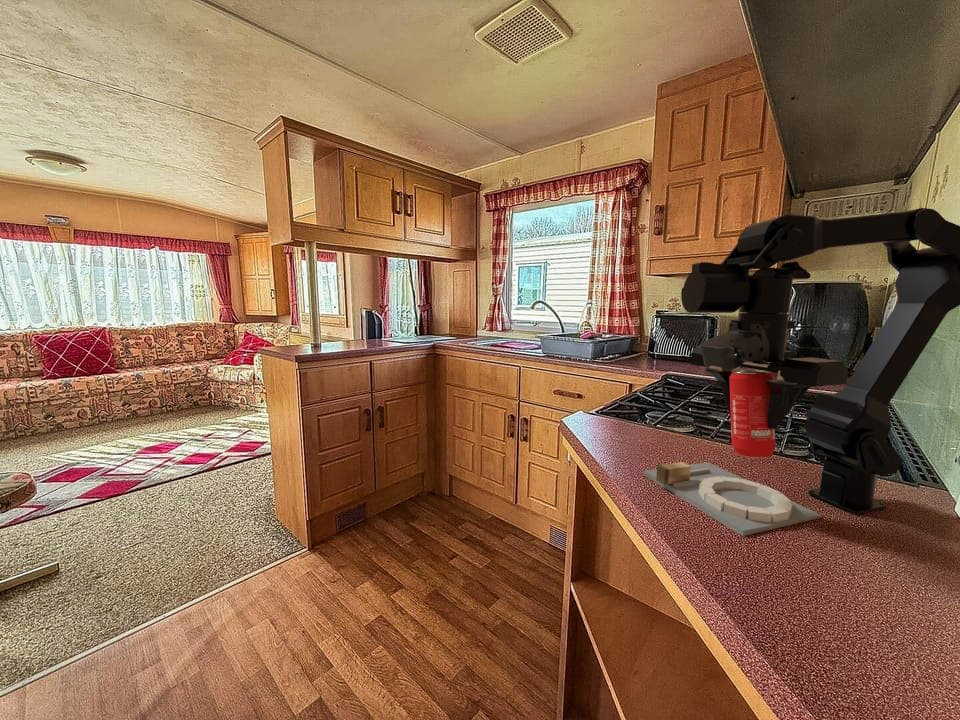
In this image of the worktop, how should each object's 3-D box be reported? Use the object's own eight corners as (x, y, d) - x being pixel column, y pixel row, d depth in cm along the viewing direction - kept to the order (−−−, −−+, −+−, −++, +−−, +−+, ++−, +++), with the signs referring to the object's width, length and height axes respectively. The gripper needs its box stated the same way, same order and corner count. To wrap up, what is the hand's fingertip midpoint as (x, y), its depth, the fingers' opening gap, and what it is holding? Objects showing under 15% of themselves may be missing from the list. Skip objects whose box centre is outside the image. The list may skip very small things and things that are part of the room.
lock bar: (681, 476, 66) (682, 462, 66) (689, 480, 64) (690, 466, 64) (656, 479, 65) (657, 465, 64) (664, 484, 63) (665, 469, 62)
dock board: (707, 466, 73) (708, 455, 72) (820, 520, 55) (822, 507, 54) (643, 475, 69) (644, 464, 69) (742, 536, 51) (744, 522, 50)
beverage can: (733, 457, 56) (730, 373, 55) (730, 447, 60) (727, 370, 60) (779, 460, 53) (776, 372, 53) (772, 450, 58) (769, 369, 57)
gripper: (665, 312, 61) (659, 409, 63) (788, 315, 43) (773, 451, 45) (722, 311, 64) (714, 404, 66) (859, 315, 46) (841, 442, 49)
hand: (751, 422), depth 57 cm, fingers closed on beverage can, 5 cm apart
